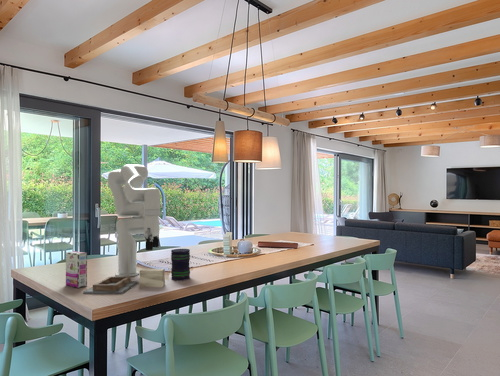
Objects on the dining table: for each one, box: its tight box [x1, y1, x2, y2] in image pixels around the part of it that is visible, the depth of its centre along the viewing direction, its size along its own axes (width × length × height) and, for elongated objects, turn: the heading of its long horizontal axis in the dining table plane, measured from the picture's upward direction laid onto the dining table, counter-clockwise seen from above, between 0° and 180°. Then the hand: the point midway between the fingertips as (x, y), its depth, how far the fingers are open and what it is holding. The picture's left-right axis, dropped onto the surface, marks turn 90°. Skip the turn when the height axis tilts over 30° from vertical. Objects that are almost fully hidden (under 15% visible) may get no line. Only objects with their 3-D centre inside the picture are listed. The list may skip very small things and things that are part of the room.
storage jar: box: [170, 248, 191, 282], centre depth 190 cm, size 10×10×15 cm
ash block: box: [139, 268, 166, 288], centre depth 175 cm, size 4×11×8 cm, turn 87°
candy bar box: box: [65, 250, 88, 289], centre depth 177 cm, size 11×5×16 cm, turn 56°
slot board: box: [83, 275, 140, 295], centre depth 172 cm, size 20×18×4 cm
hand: (152, 248), depth 175 cm, fingers open, 9 cm apart
